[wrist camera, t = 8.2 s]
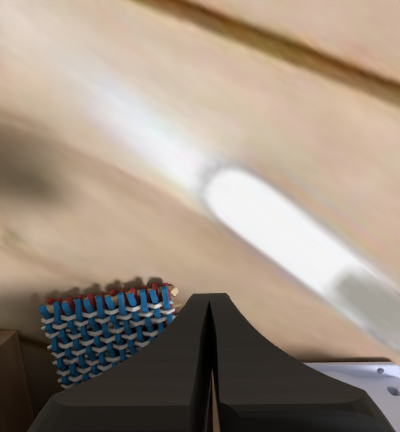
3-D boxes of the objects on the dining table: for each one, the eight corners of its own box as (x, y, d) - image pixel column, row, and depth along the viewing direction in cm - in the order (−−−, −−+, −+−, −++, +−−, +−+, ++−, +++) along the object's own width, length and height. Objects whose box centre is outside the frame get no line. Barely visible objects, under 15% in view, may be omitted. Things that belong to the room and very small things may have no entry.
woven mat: (79, 408, 25) (68, 430, 23) (44, 294, 23) (29, 308, 21) (201, 393, 25) (200, 415, 23) (177, 274, 22) (174, 286, 20)
